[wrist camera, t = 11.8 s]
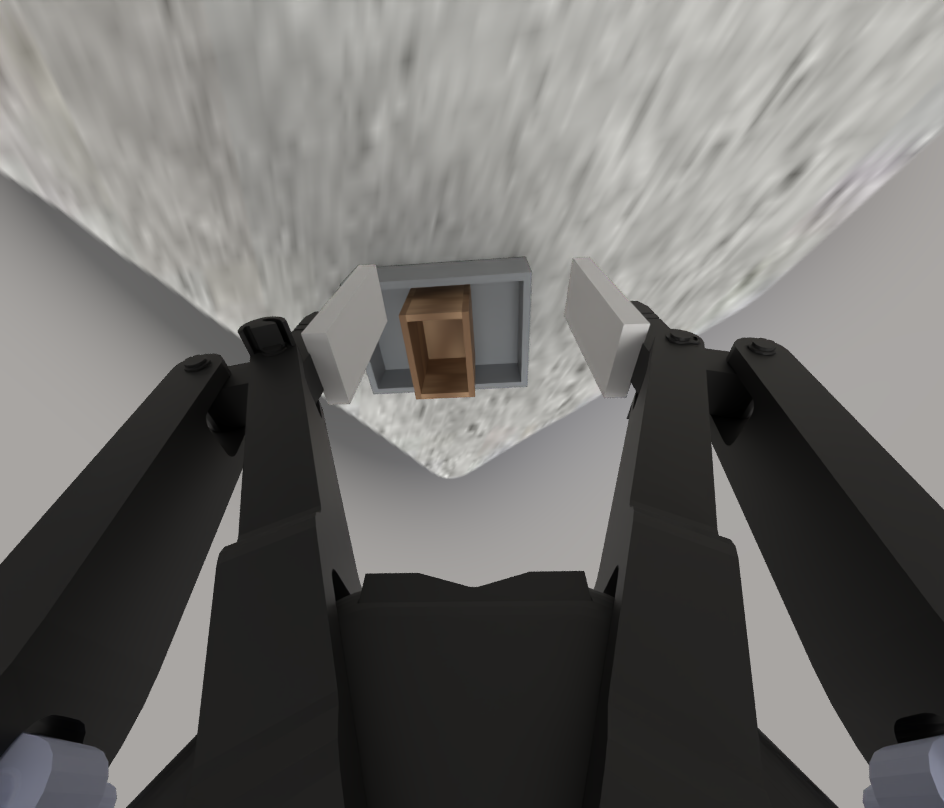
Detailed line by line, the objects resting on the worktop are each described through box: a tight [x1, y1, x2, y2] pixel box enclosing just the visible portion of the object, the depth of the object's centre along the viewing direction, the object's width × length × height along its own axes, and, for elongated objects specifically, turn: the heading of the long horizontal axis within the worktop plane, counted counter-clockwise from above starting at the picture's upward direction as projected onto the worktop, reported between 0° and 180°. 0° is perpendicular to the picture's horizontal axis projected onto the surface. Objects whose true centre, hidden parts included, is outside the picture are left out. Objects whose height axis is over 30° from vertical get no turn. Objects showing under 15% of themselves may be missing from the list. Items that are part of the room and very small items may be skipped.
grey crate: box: [340, 257, 532, 394], centre depth 36 cm, size 17×12×5 cm
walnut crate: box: [399, 284, 475, 399], centre depth 34 cm, size 6×9×8 cm, turn 4°
